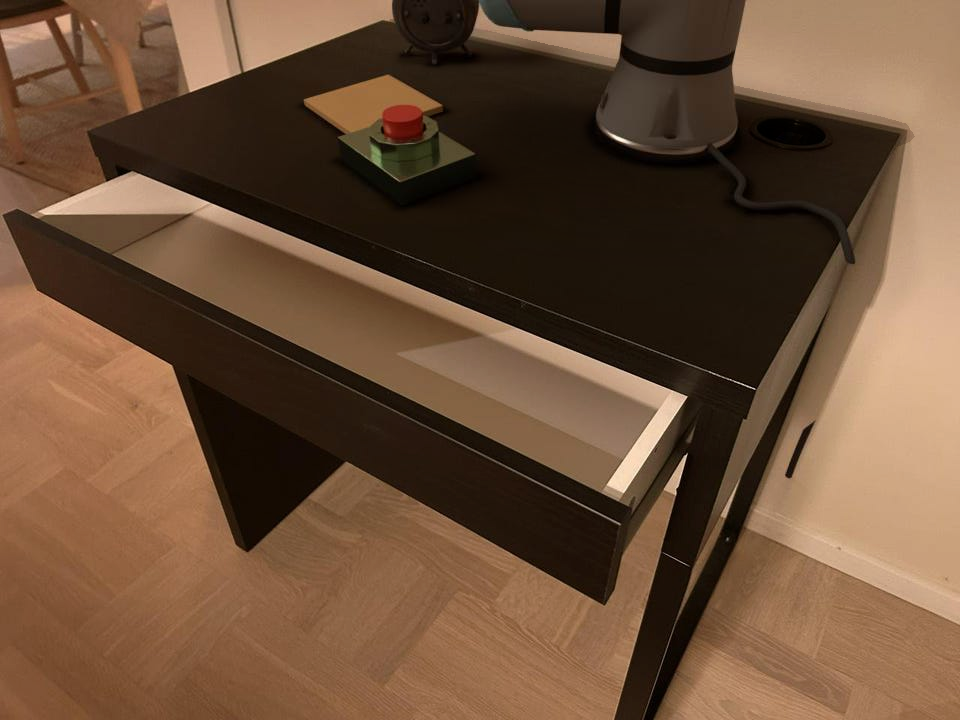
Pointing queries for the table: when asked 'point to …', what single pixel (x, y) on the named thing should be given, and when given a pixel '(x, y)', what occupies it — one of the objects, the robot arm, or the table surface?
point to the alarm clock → (435, 24)
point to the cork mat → (368, 103)
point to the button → (402, 121)
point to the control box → (407, 161)
